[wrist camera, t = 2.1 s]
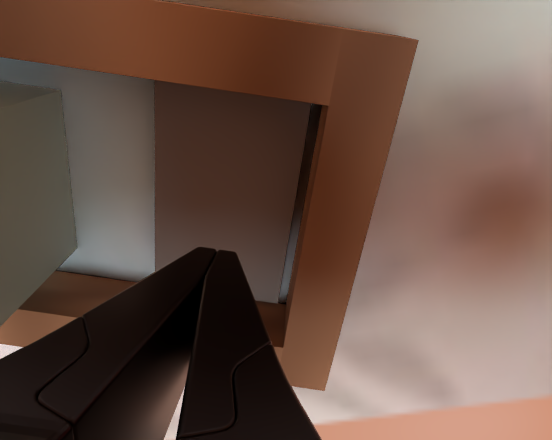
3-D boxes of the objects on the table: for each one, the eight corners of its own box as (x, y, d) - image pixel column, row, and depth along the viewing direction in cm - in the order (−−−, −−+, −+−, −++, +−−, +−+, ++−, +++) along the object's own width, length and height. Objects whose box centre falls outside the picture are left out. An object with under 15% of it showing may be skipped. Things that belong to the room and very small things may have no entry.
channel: (397, 35, 10) (418, 40, 8) (321, 344, 14) (324, 390, 13) (-242, -61, 10) (-364, -77, 8) (-115, 280, 14) (-175, 318, 12)
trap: (311, 100, 11) (311, 103, 10) (278, 296, 14) (277, 303, 13) (159, 77, 11) (154, 79, 10) (159, 278, 13) (154, 285, 13)
